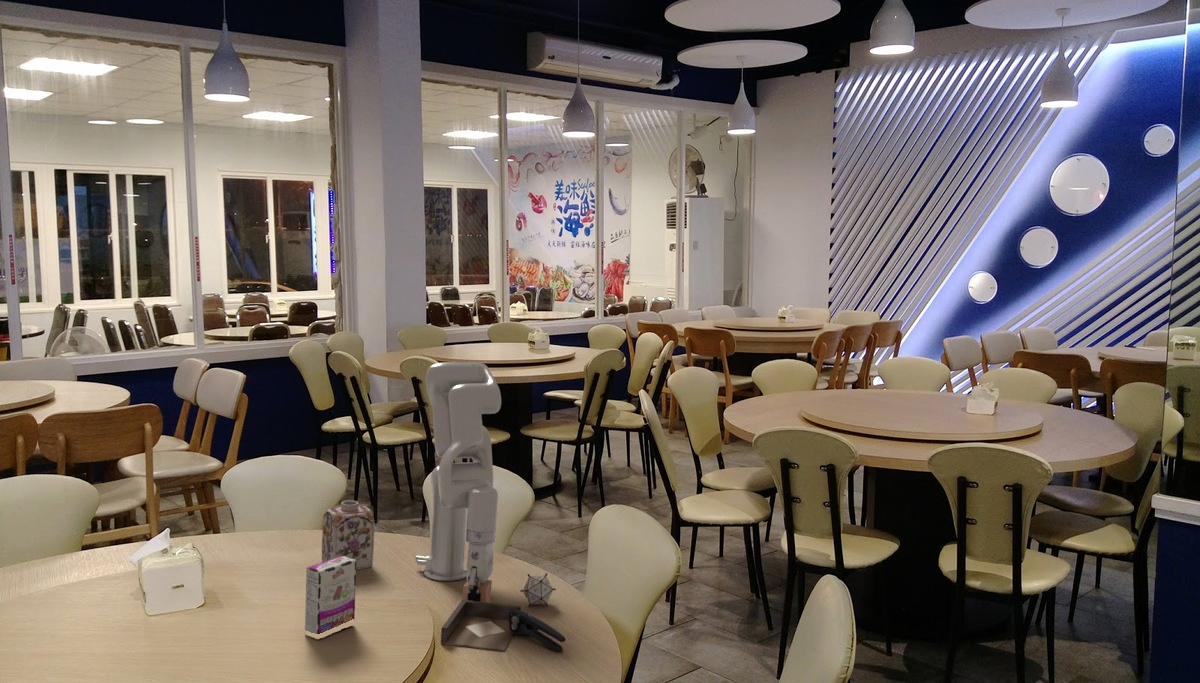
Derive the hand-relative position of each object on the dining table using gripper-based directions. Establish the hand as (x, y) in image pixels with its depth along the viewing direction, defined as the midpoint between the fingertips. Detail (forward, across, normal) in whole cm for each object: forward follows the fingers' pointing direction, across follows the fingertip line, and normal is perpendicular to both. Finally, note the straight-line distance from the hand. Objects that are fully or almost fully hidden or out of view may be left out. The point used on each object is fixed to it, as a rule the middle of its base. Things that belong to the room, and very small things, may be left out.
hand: (476, 602), depth 231 cm
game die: (+1, +5, -15) cm, 16 cm away
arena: (+1, -16, -6) cm, 17 cm away
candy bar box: (+1, -25, +29) cm, 38 cm away
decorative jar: (+1, +19, +43) cm, 47 cm away
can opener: (+1, -17, -19) cm, 25 cm away
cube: (+1, 0, 0) cm, 1 cm away
